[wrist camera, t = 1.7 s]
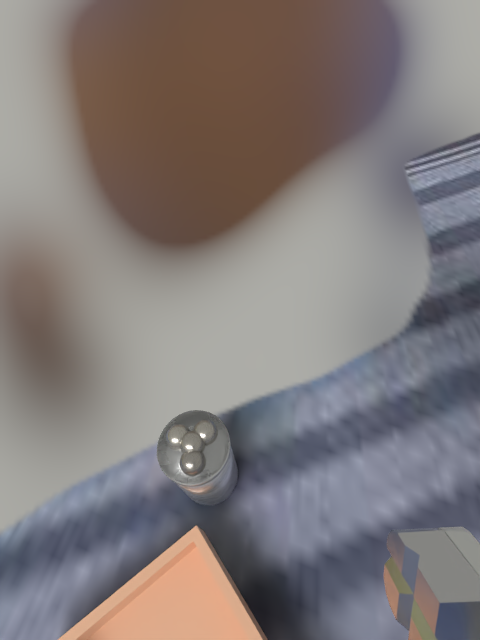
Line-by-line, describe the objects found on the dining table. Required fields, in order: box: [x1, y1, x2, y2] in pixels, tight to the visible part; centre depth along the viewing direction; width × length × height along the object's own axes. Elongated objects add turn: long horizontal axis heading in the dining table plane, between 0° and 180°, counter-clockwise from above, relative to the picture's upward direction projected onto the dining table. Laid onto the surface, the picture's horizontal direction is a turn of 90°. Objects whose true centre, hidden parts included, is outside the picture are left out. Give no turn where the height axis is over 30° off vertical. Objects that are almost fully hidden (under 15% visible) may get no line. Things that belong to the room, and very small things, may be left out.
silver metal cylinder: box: [157, 410, 238, 506], centre depth 31 cm, size 6×6×11 cm
